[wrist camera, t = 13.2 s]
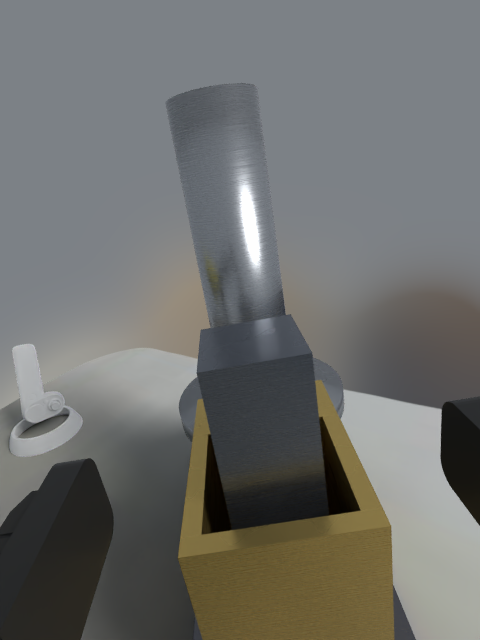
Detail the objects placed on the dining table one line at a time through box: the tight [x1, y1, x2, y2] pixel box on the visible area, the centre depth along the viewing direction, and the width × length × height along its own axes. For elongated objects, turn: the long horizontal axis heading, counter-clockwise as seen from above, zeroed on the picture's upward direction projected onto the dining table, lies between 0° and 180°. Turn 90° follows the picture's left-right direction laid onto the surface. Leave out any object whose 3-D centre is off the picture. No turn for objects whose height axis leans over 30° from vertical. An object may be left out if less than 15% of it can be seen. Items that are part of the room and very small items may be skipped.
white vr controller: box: [9, 344, 83, 457], centre depth 44 cm, size 8×12×7 cm
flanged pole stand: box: [166, 83, 416, 640], centre depth 21 cm, size 19×11×27 cm, turn 2°
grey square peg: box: [197, 315, 329, 530], centre depth 18 cm, size 4×4×16 cm
